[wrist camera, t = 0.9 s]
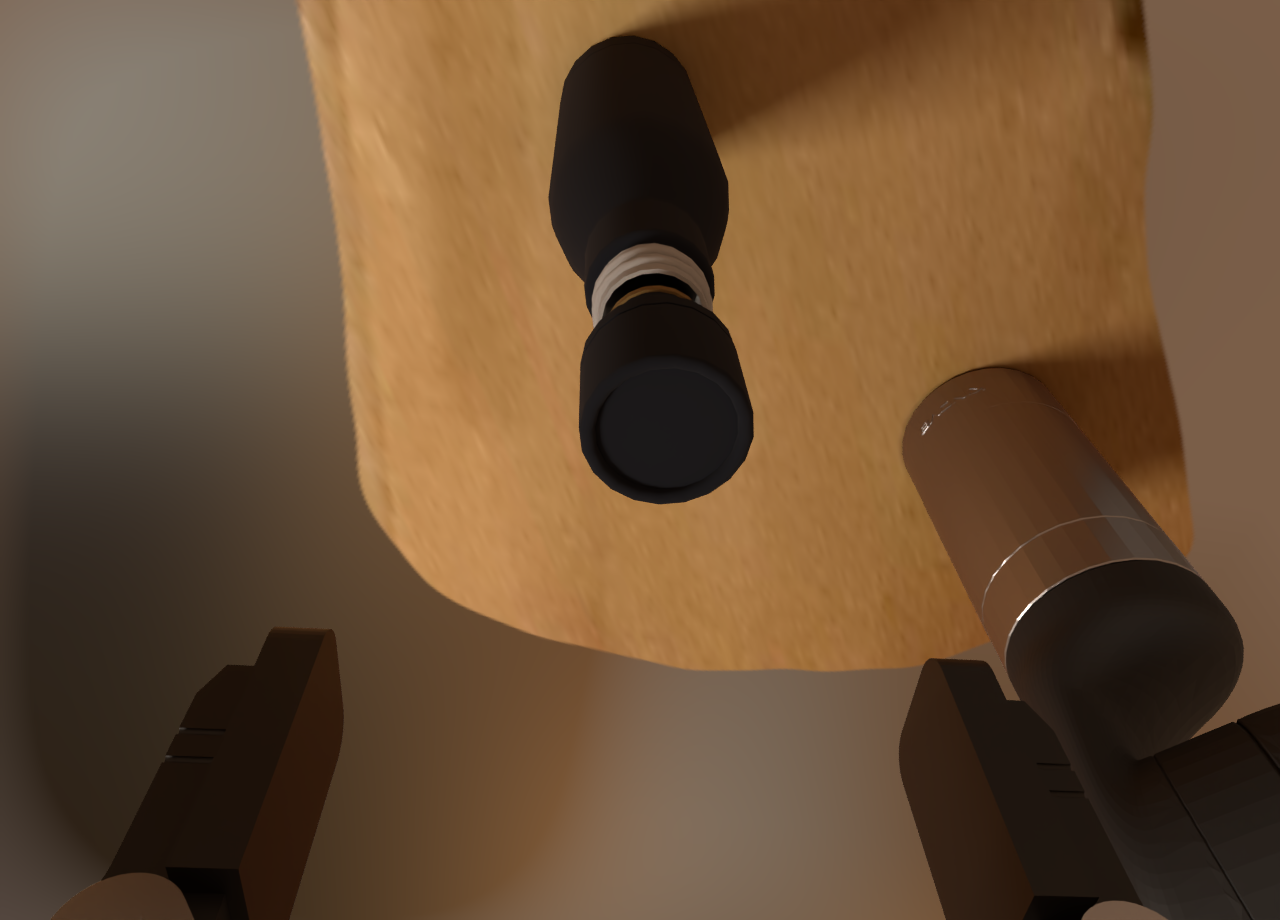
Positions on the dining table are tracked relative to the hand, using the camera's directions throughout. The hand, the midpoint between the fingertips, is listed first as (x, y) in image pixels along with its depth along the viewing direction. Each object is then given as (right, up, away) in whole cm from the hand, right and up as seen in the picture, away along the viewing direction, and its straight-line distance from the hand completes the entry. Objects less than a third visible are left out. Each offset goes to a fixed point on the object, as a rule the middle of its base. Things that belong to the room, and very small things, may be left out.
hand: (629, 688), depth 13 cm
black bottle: (0, +20, +33) cm, 39 cm away
